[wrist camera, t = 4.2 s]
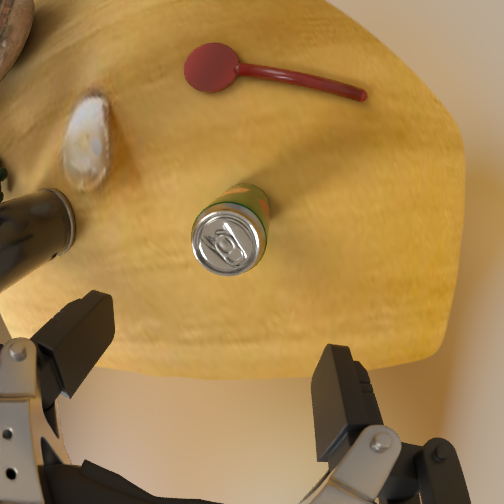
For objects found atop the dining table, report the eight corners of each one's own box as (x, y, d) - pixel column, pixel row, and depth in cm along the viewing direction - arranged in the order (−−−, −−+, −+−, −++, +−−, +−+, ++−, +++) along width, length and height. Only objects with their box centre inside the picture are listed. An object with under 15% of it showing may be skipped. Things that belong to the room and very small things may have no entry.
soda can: (249, 172, 28) (230, 187, 16) (280, 211, 29) (282, 252, 17) (211, 203, 29) (170, 238, 18) (242, 240, 30) (221, 295, 19)
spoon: (181, 90, 25) (176, 88, 24) (192, 44, 23) (188, 39, 22) (360, 123, 25) (364, 121, 23) (368, 75, 23) (372, 71, 21)
